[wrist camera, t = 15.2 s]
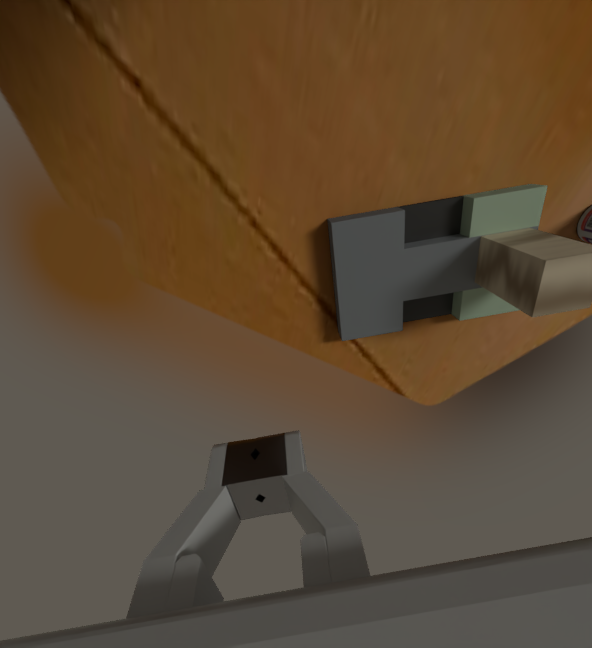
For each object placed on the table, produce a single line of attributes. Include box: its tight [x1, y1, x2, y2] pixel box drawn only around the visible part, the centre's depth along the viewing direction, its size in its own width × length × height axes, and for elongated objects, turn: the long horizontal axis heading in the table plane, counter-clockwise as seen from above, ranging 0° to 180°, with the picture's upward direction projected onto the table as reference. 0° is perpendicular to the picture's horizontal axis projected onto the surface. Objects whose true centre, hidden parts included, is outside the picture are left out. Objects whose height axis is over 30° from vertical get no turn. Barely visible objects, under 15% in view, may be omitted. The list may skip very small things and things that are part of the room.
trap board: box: [327, 184, 547, 341], centre depth 40 cm, size 16×25×2 cm, turn 99°
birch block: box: [475, 228, 592, 317], centre depth 35 cm, size 6×6×10 cm
